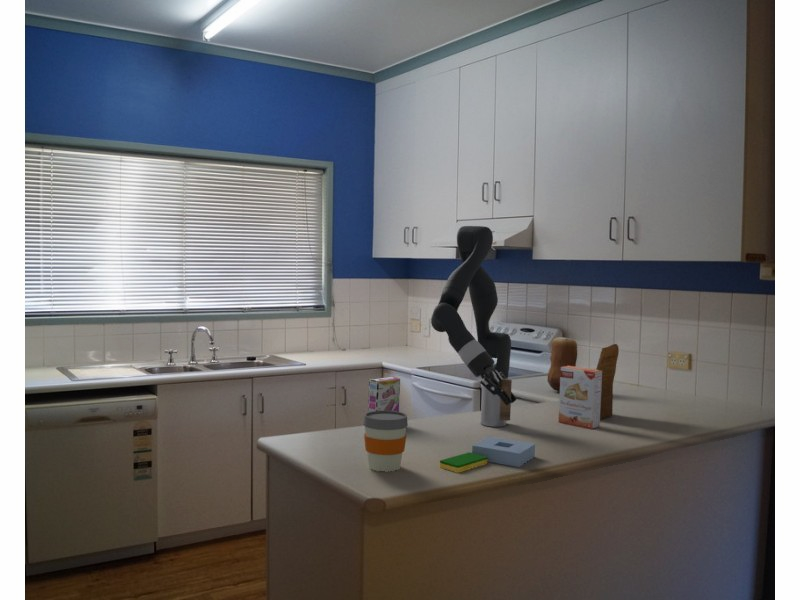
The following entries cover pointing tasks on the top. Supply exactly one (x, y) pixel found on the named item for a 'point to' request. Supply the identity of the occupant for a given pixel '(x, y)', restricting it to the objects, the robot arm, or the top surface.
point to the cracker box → (580, 396)
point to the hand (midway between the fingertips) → (511, 402)
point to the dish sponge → (463, 462)
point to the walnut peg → (503, 407)
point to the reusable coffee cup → (385, 439)
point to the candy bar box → (384, 394)
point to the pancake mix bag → (607, 378)
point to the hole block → (505, 451)
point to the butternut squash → (561, 359)
